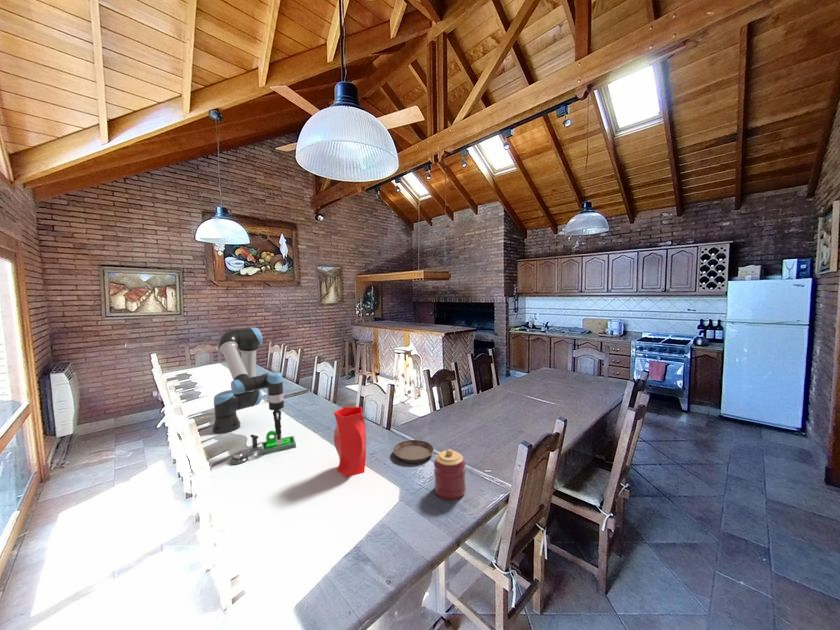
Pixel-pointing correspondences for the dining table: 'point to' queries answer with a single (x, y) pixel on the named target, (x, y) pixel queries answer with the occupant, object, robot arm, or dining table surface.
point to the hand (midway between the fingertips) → (278, 442)
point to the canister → (449, 474)
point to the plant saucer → (413, 451)
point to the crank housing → (240, 461)
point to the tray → (279, 448)
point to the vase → (350, 440)
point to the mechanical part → (274, 440)
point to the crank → (248, 451)
